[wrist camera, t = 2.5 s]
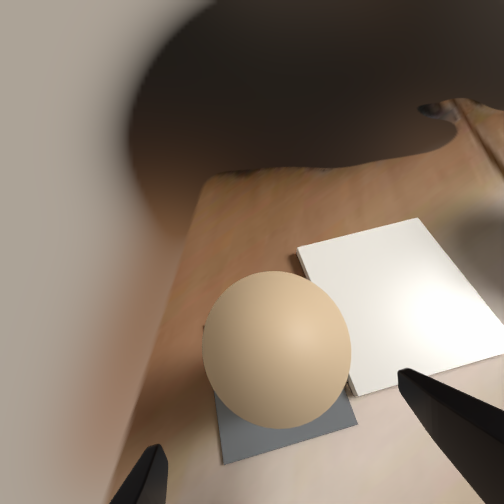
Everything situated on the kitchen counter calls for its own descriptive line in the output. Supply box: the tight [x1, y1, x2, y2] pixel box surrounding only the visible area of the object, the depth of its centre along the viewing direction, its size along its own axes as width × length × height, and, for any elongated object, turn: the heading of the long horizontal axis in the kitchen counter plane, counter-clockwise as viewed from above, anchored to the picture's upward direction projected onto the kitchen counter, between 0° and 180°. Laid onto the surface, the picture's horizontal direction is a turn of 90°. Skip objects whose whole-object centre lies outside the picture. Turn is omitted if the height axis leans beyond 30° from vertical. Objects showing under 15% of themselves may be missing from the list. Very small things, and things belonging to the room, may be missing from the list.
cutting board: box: [296, 218, 504, 396], centre depth 19 cm, size 12×12×1 cm
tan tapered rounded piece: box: [202, 271, 351, 429], centre depth 12 cm, size 4×4×12 cm
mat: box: [214, 388, 358, 465], centre depth 17 cm, size 9×9×1 cm
